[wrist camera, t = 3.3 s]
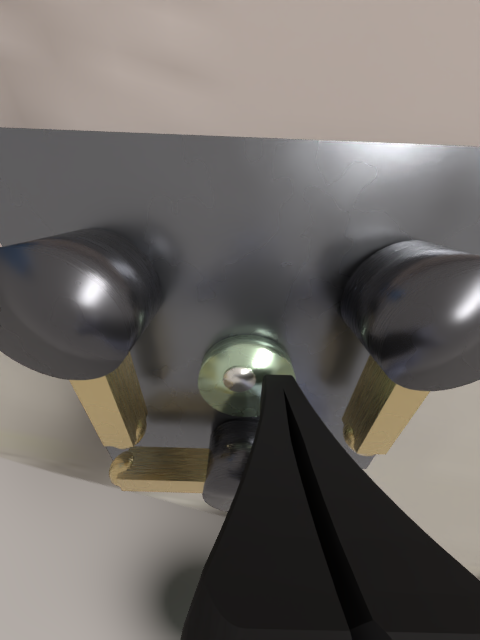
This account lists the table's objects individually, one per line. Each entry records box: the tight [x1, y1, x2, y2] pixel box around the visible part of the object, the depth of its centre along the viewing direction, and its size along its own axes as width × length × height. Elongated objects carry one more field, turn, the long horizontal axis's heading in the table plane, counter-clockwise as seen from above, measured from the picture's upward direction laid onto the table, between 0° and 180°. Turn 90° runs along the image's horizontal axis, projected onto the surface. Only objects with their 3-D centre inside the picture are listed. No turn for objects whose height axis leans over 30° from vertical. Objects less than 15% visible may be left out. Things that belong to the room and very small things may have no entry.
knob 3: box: [340, 240, 480, 456], centre depth 9 cm, size 10×4×3 cm, turn 178°
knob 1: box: [0, 229, 162, 449], centre depth 9 cm, size 10×4×3 cm, turn 178°
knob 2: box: [109, 420, 258, 512], centre depth 13 cm, size 10×4×3 cm, turn 88°
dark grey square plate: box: [0, 127, 480, 469], centre depth 12 cm, size 20×20×2 cm
